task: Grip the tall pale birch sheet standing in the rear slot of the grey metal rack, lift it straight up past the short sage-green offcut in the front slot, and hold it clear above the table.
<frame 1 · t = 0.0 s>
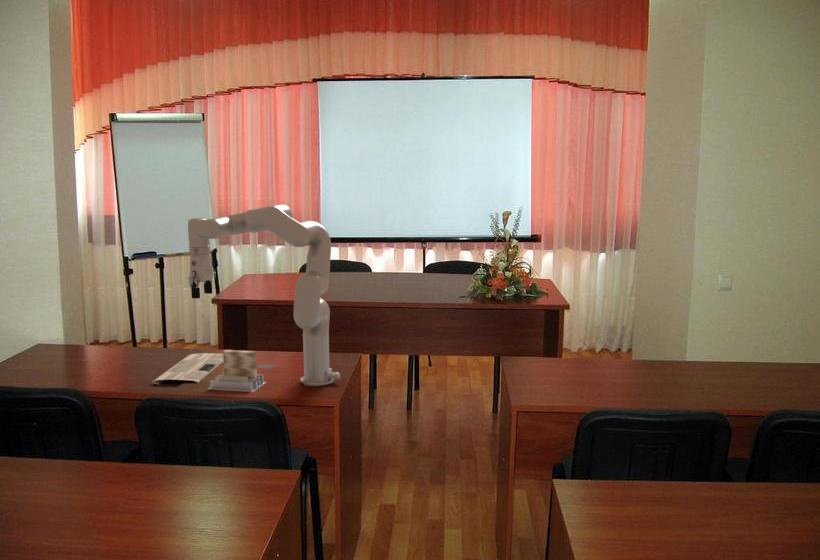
hand: (202, 295, 286), 31 cm above the table, tool pointing down, fingers open, 9 cm apart
offcut block: (233, 387, 272), point 1 cm above the table, touching slot rack
slot rack: (237, 388, 275), on the table
newspaper: (190, 372, 297), on the table
birch sheet: (241, 382, 277), point 1 cm above the table, touching slot rack
play button award: (247, 376, 292), on the table
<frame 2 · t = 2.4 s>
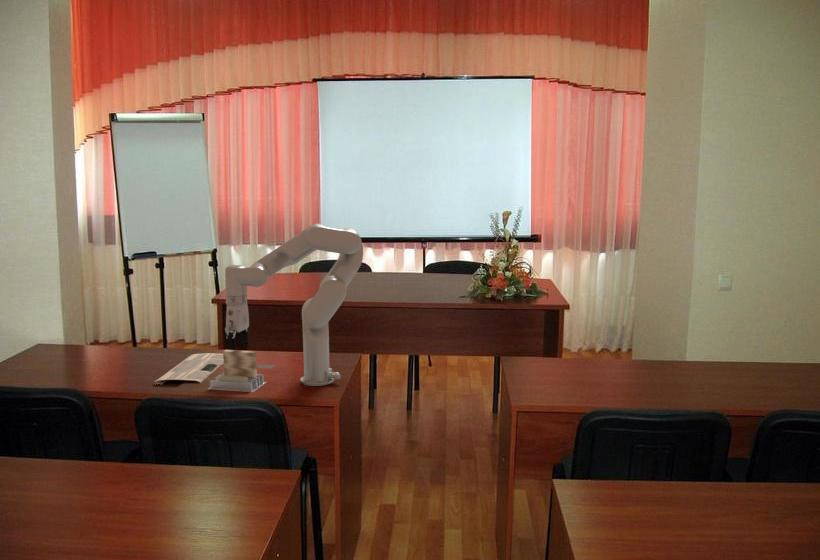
hand: (237, 345, 275), 15 cm above the table, tool pointing down, fingers open, 9 cm apart
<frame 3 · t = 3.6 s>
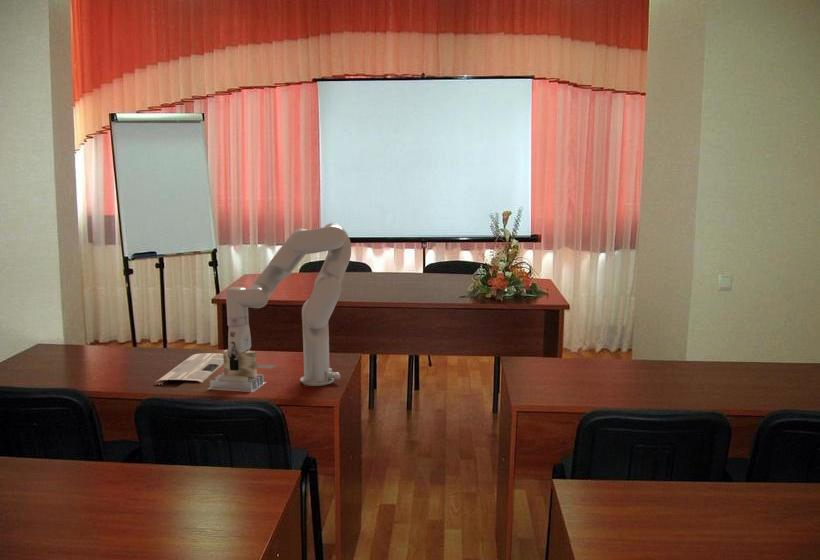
hand: (240, 366, 276), 7 cm above the table, tool pointing down, fingers open, 9 cm apart
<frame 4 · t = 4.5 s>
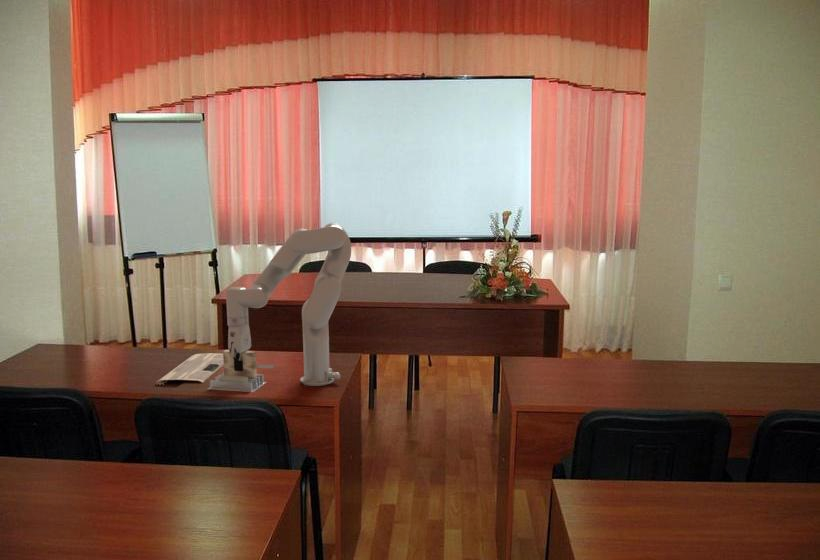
hand: (240, 369, 277), 6 cm above the table, tool pointing down, fingers closed on birch sheet, 2 cm apart
birch sheet: (240, 382, 277), point 1 cm above the table, touching gripper, slot rack
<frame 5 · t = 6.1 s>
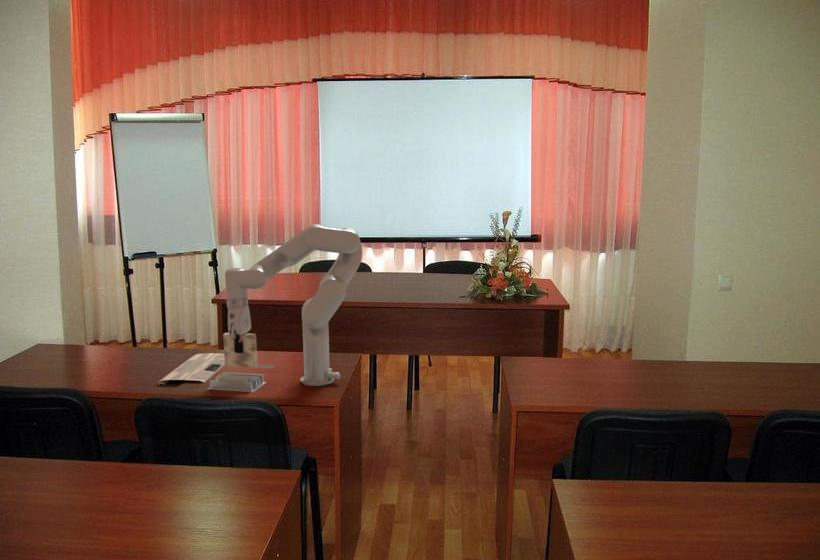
hand: (240, 351, 275), 13 cm above the table, tool pointing down, fingers closed on birch sheet
birch sheet: (241, 365, 276), point 8 cm above the table, touching gripper
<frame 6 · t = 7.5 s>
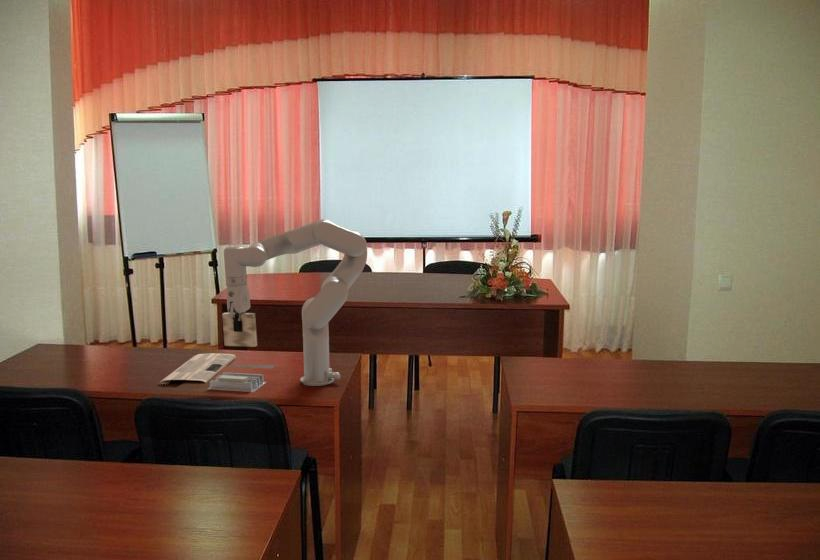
hand: (239, 330, 274), 21 cm above the table, tool pointing down, fingers closed on birch sheet
birch sheet: (240, 345, 275), point 15 cm above the table, touching gripper
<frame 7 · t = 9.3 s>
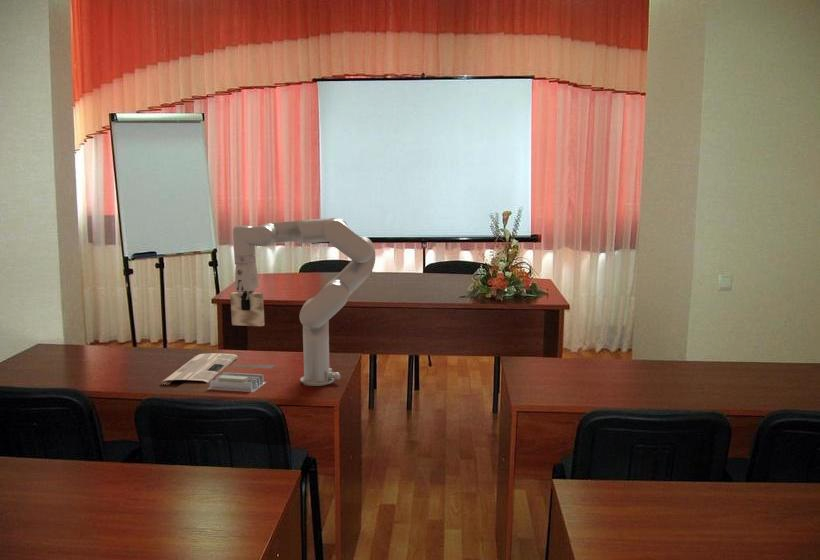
hand: (247, 309, 276), 28 cm above the table, tool pointing down, fingers closed on birch sheet
birch sheet: (248, 325, 277), point 22 cm above the table, touching gripper
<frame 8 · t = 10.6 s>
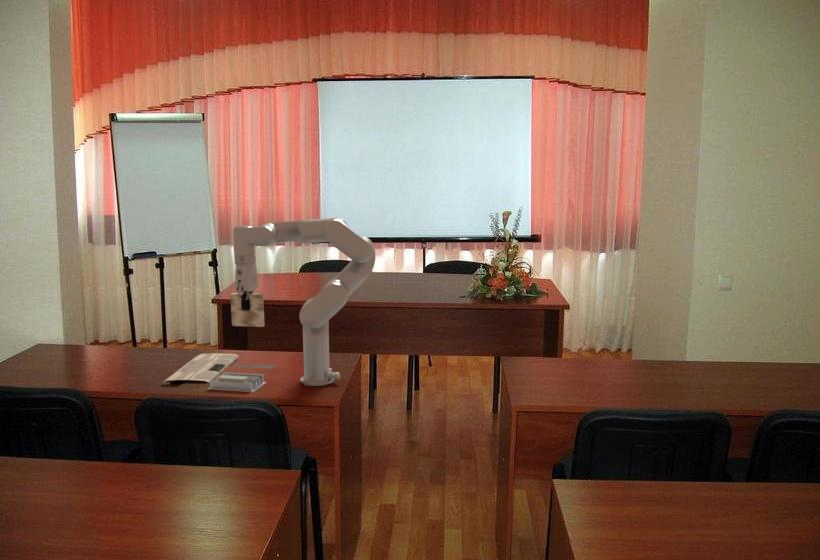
hand: (247, 309, 276), 28 cm above the table, tool pointing down, fingers closed on birch sheet
birch sheet: (248, 325, 277), point 22 cm above the table, touching gripper
at the end: the gripper is holding birch sheet; birch sheet point 21.7 cm above the table; offcut block moved 0.0 cm from its start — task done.
